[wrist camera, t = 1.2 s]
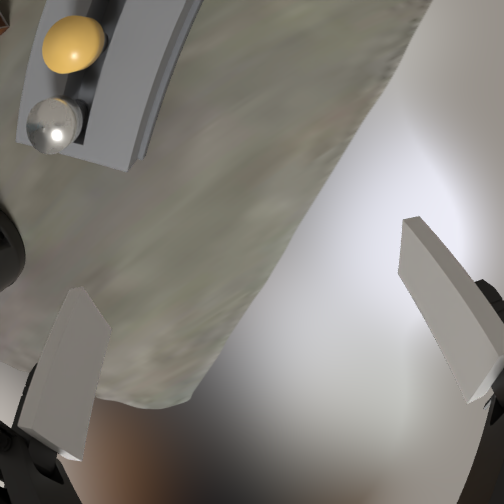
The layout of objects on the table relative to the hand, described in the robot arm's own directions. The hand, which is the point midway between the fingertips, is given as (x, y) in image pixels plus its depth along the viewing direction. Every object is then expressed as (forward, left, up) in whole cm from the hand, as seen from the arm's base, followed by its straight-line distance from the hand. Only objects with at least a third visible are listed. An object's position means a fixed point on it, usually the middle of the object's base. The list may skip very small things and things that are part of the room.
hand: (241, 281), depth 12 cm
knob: (-16, -2, -19) cm, 25 cm away
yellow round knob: (-16, +5, -19) cm, 25 cm away
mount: (-16, +5, -25) cm, 30 cm away
